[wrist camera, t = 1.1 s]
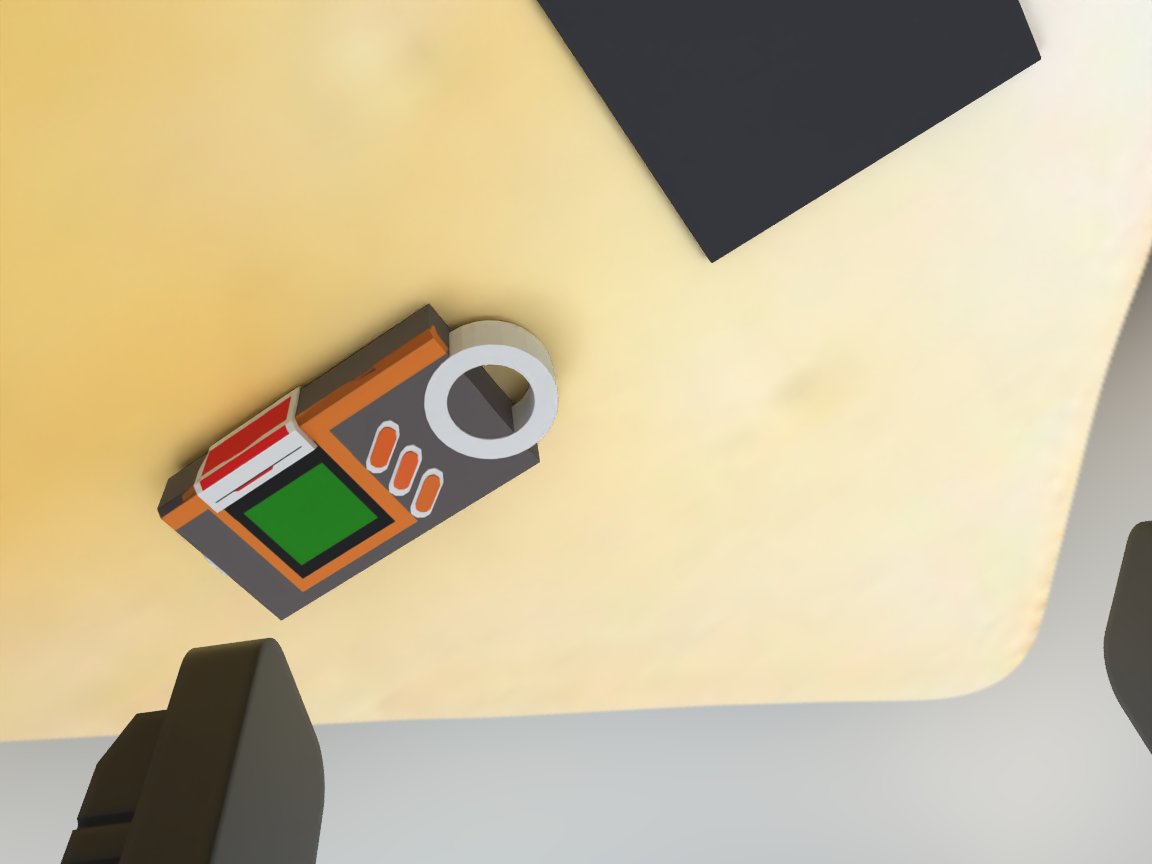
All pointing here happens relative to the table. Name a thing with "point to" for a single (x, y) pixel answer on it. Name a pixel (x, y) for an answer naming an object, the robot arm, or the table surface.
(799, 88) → the mat
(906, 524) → the table surface
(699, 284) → the table surface
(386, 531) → the electronic device
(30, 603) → the table surface
